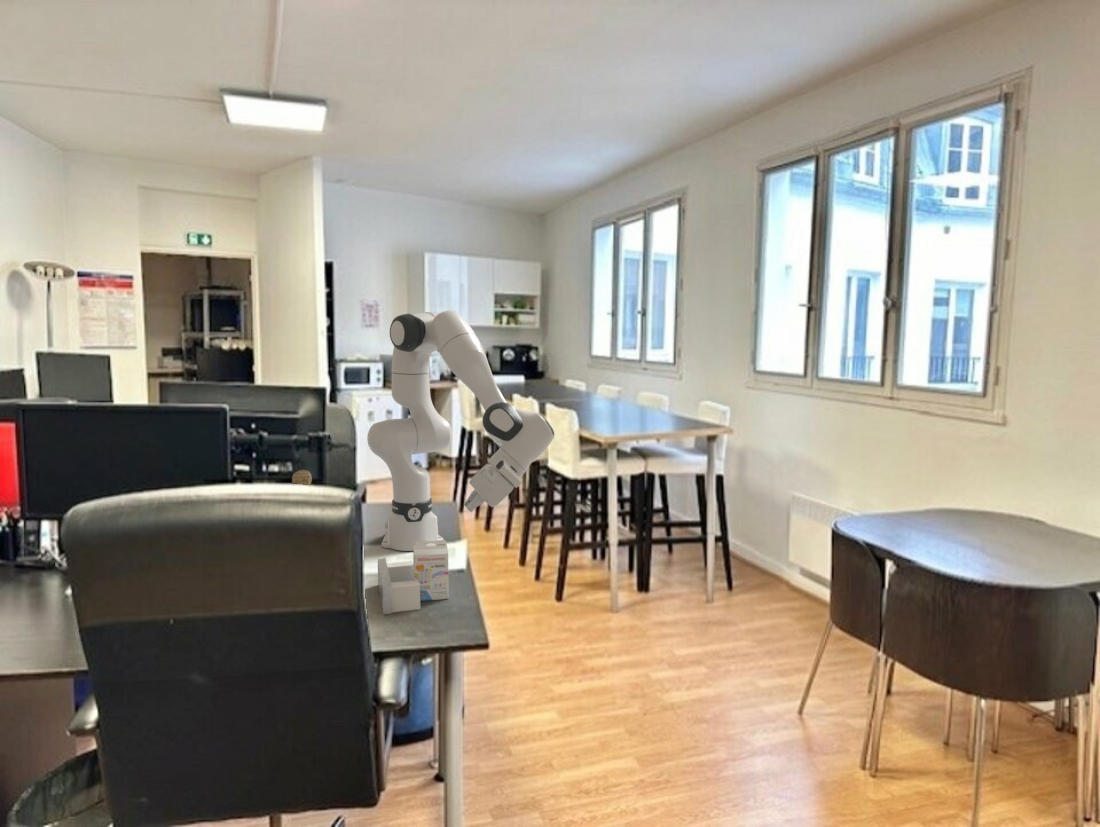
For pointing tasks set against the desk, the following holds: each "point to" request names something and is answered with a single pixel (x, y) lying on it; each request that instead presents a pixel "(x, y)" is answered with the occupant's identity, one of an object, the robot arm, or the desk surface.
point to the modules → (404, 587)
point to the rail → (385, 586)
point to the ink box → (431, 569)
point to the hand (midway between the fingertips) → (467, 508)
